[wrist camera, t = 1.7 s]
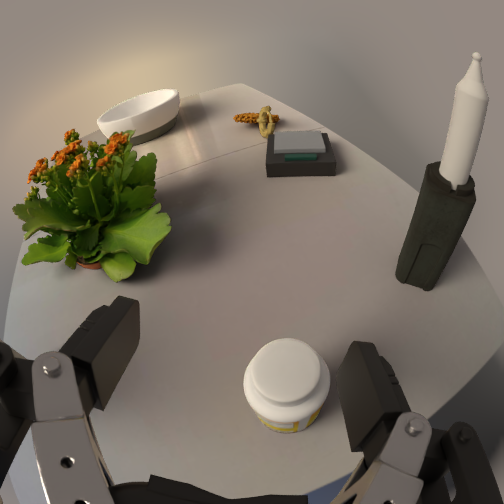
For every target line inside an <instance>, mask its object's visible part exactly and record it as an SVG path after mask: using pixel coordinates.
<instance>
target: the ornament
mask: <svg viewBox="0 0 504 504" xmlns="http://www.w3.org/2000/svg"><path fill="white" fill-rule="evenodd" d="M270 111H271V107H270V106H266V107H263V108H262V109H261V111H260V113H256V114H255V113H244V114H239V115H235V117H234V118H233V119H235V121H236V122H241V123H242V122H244V123H248V122H249V123H259V129H260V133H261V135H262V136H263V137H266V138H268V135H269V134H273V132H274V128H275V124H274V123H275V122H278V121H279V120H280V119H279V116H278V115H272V114H271V113H270ZM267 113H268V114H267ZM274 118H275V119H274ZM266 123H268V127H267V130H266Z"/></svg>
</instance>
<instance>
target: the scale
mask: <svg viewBox="0 0 504 504" xmlns="http://www.w3.org/2000/svg"><path fill="white" fill-rule="evenodd" d="M266 171H267V177H286V176H335V173H336V160H335V157H334V154H333V151H332V147H331V144H330V141H329V138H328V135H327V133H321V131H285V132H275V134H269V135H268V143H267V154H266Z"/></svg>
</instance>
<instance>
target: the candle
mask: <svg viewBox="0 0 504 504" xmlns="http://www.w3.org/2000/svg"><path fill="white" fill-rule="evenodd" d="M472 58H473V60H472V63H471V65H470V67H469V69H468V71H467V73H466V75H465V77H464V78H463V79H462V80H461V81H460V82H459V83H458V84H457V85H456V90H455V97H454V103H453V110H452V115H451V121H450V125H449V130H448V135H447V140H446V144H445V149H444V153H443V157H442V160H441V161H440V162H435V163H431V164H428V165H427V167H426V171H425V175H424V179H423V183H422V187H421V190H420V194H419V197H418V201H417V204H416V207H415V211H414V214H413V217H412V220H411V223H410V227H409V230H408V233H407V235H406V238H405V241H404V244H403V247H402V250H401V253H400V255H399V259H398V264H397V269H396V274H395V275H396V278H397V279H398V281H400V282H401V283H403V284H404V283H407V284H410V285H413V286H416V287H419V288H422V289H423V290H424V291H430V290H432V289H433V287H434V286H435V284H436V282H437V280H438V279H439V277H440V275H441V273H442V272H443V270H444V268H445V266H446V264H447V262H448V260H449V258H450V256H451V255H452V253H453V251H454V249H455V247H456V245H457V243H458V240H459V238H460V236H461V234H462V232H463V230H464V227H465V225H466V223H467V221H468V219H469V216H470V214H471V211H472V209H473V207H474V204H475V202H476V196H475V191H474V187H475V183H474V181H473V178H472V177H471V176H470V171H471V168H472V165H473V162H474V159H475V155H476V152H477V148H478V145H479V141H480V137H481V133H482V129H483V125H484V120H485V116H486V111H487V106H488V101H489V97H488V94H487V91H486V89H485V86H484V83H483V77H482V70H481V65H480V62H481V60H482V57H481V55H480V54H479V53H477V52H474V53H473V54H472Z"/></svg>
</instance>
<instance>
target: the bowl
mask: <svg viewBox="0 0 504 504" xmlns="http://www.w3.org/2000/svg"><path fill="white" fill-rule="evenodd" d="M179 104H180V99H179V92H178V90H175V89H162V90H156V91H152V92H148V93H144V94H141V95H138V96H135V97H133V98H130V99H128V100H125V101H123V102H121V103H120V104H118V105H115V106H114V107H112V108H110V109H109V110H107V111H106V112H104V113H103V114H102V115H101V116H100V117H99V118H98V120H97V123H98V125H99V128H100V130H101V131H102V133H103V134H104V135H105V136H106V137H107V138H108V139H109V138H110V136H111V135H112V134H113V133H114V132H118V133H119V134H120V133H121V131H123V132H125V131H127V130H135V129H136V131H135V133H134V135H133V136H132V137H131V138H130V143H133V145H137V144H141V143H144V142H147V141H149V140H152V139H154V138H156V137H158V136H160V135H162V134H164V133H166V132H167V131H168V130H170V129H171V128H172V127H173V126H174V124H175V121H176V117H177V114H178V112H179Z"/></svg>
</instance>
